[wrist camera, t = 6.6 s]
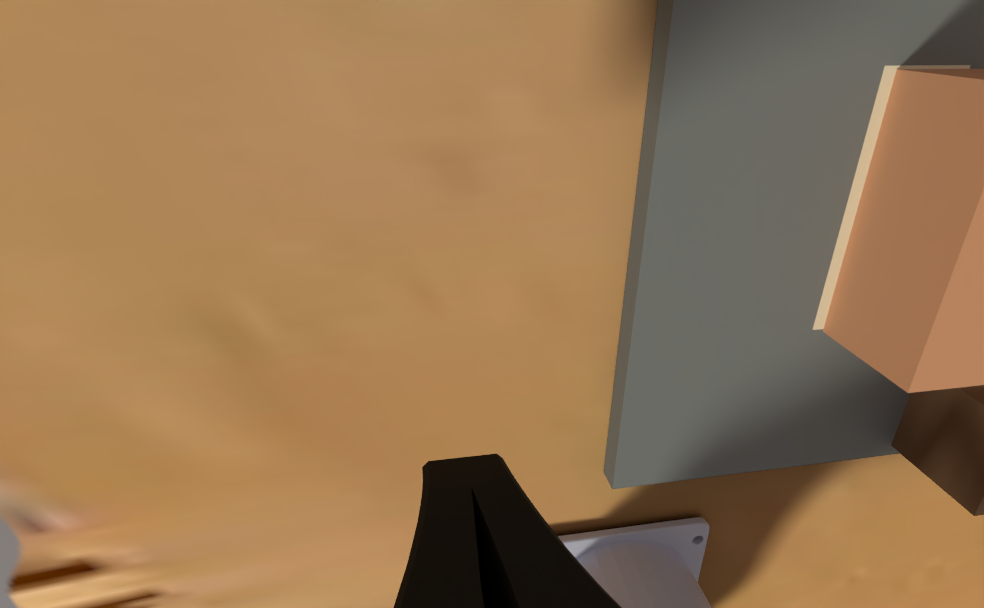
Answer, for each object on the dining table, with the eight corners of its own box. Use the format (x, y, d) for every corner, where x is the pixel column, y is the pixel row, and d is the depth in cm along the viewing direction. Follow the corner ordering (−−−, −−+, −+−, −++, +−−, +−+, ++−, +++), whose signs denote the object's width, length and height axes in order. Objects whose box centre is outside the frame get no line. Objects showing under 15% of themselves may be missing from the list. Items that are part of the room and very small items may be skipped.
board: (962, 429, 28) (981, 443, 27) (603, 471, 25) (612, 489, 24) (1157, -22, 20) (1194, -24, 19) (661, -33, 17) (678, -35, 16)
